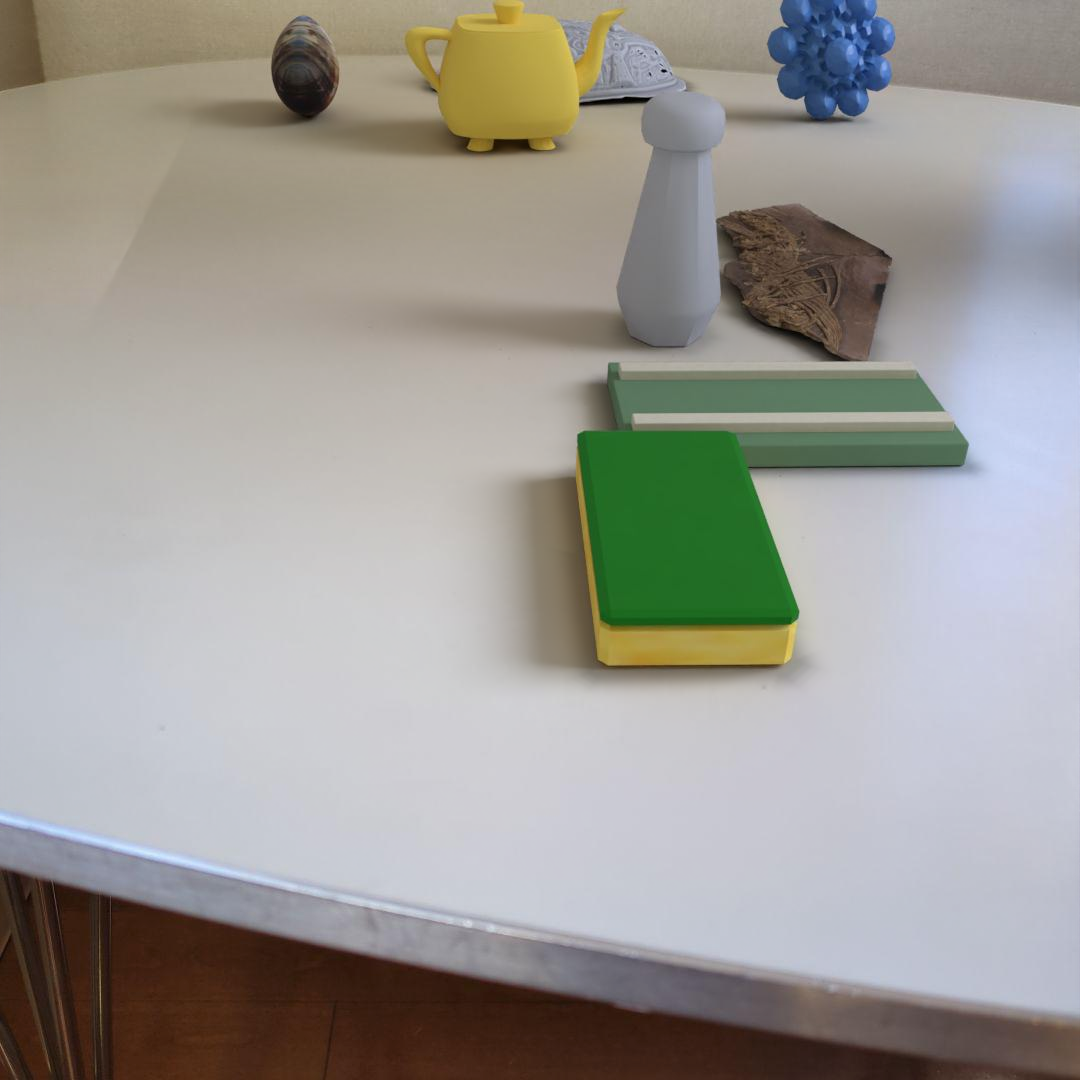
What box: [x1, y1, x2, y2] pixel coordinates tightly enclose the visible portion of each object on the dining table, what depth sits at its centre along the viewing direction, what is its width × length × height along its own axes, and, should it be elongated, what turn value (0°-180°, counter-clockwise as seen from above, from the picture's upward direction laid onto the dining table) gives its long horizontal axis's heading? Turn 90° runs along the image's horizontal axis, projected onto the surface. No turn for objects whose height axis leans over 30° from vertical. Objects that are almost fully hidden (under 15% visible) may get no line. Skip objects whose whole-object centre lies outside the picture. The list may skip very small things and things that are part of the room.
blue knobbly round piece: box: [766, 0, 896, 121], centre depth 105 cm, size 12×7×12 cm, turn 96°
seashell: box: [270, 14, 340, 117], centre depth 104 cm, size 10×6×8 cm, turn 2°
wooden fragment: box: [716, 202, 893, 362], centre depth 76 cm, size 26×11×1 cm, turn 176°
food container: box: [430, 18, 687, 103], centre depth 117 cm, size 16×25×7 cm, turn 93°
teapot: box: [404, 0, 628, 152], centre depth 99 cm, size 18×11×11 cm, turn 98°
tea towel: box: [606, 360, 970, 468], centre depth 59 cm, size 16×9×2 cm, turn 93°
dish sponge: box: [575, 430, 800, 666], centre depth 49 cm, size 7×14×2 cm, turn 2°
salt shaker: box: [615, 90, 727, 347], centre depth 65 cm, size 6×6×13 cm
